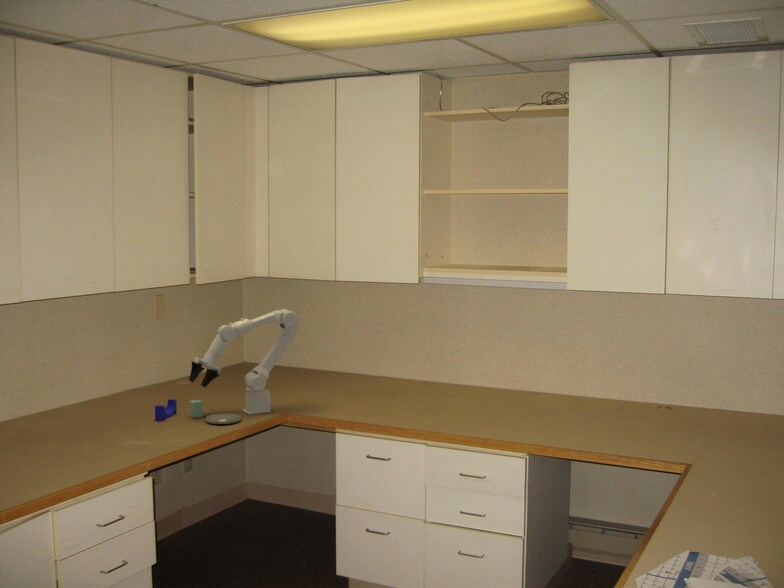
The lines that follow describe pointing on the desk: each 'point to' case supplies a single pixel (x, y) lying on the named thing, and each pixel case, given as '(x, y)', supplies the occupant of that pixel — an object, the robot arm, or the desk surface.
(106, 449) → the desk surface
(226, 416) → the slate plate
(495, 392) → the desk surface
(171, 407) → the cable clip
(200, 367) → the robot arm
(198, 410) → the pale green block
